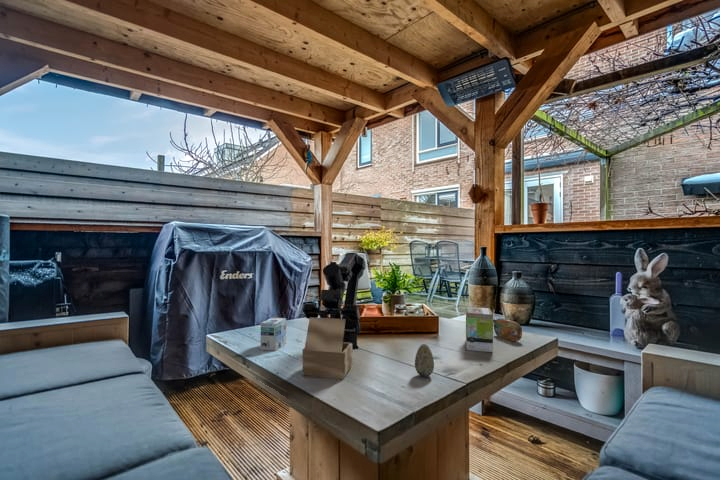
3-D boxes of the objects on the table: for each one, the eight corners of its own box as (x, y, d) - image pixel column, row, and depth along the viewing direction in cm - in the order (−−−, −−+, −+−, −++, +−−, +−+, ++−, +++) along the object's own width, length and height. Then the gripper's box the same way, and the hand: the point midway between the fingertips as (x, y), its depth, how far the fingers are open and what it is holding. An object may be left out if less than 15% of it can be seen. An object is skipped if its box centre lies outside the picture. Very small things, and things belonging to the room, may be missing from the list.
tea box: (494, 352, 132) (493, 313, 132) (466, 350, 135) (466, 312, 135) (490, 342, 147) (490, 307, 147) (465, 340, 149) (465, 306, 150)
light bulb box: (275, 351, 135) (275, 323, 135) (259, 350, 136) (259, 322, 136) (286, 343, 145) (286, 317, 145) (272, 342, 147) (272, 317, 147)
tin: (493, 335, 158) (493, 316, 158) (499, 334, 159) (498, 316, 159) (517, 344, 144) (517, 323, 144) (523, 343, 145) (523, 323, 145)
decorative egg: (424, 381, 104) (424, 348, 104) (410, 375, 109) (410, 343, 109) (438, 377, 108) (438, 344, 108) (424, 371, 113) (423, 340, 113)
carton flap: (310, 317, 114) (309, 317, 113) (345, 319, 111) (345, 318, 111) (304, 350, 109) (304, 350, 108) (341, 352, 106) (341, 352, 106)
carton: (314, 363, 120) (314, 340, 120) (353, 366, 117) (353, 342, 117) (301, 376, 109) (301, 350, 109) (344, 379, 106) (344, 352, 106)
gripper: (304, 279, 118) (291, 318, 107) (357, 280, 114) (350, 321, 103) (312, 299, 126) (300, 337, 115) (362, 300, 122) (355, 340, 111)
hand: (325, 334), depth 111 cm, fingers closed, pressing on carton flap
